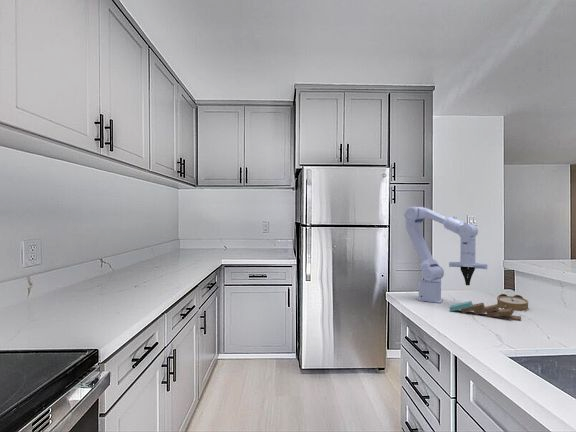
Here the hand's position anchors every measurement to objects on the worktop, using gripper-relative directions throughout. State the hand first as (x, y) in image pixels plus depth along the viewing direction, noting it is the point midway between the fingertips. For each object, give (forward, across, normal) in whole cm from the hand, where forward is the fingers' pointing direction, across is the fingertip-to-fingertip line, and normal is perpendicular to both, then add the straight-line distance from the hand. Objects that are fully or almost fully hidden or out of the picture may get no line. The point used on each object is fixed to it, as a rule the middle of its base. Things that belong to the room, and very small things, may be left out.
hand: (467, 285), depth 157 cm
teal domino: (+9, -5, -9) cm, 14 cm away
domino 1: (+9, -1, -9) cm, 13 cm away
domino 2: (+9, +4, -10) cm, 13 cm away
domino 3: (+8, +8, -10) cm, 16 cm away
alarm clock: (+10, +16, +12) cm, 22 cm away
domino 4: (+10, +11, -10) cm, 17 cm away
